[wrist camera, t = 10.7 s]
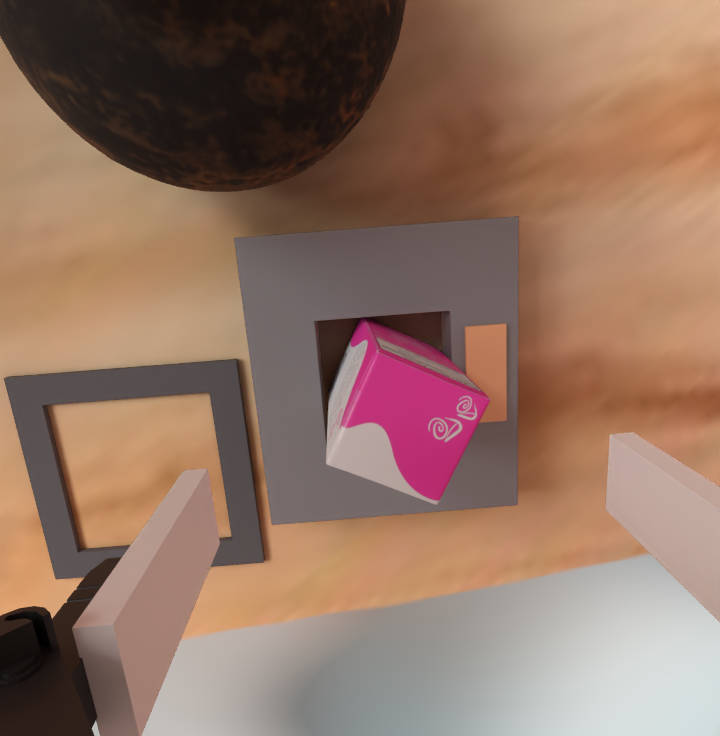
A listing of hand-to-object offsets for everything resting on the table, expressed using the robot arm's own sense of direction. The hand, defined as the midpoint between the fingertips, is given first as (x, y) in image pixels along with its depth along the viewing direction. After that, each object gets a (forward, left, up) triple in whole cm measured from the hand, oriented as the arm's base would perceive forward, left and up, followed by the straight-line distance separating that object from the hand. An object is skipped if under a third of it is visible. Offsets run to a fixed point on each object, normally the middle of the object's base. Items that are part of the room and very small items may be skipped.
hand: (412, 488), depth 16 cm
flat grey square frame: (+6, -17, -17) cm, 24 cm away
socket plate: (0, 0, -17) cm, 17 cm away
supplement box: (0, 0, -17) cm, 17 cm away
